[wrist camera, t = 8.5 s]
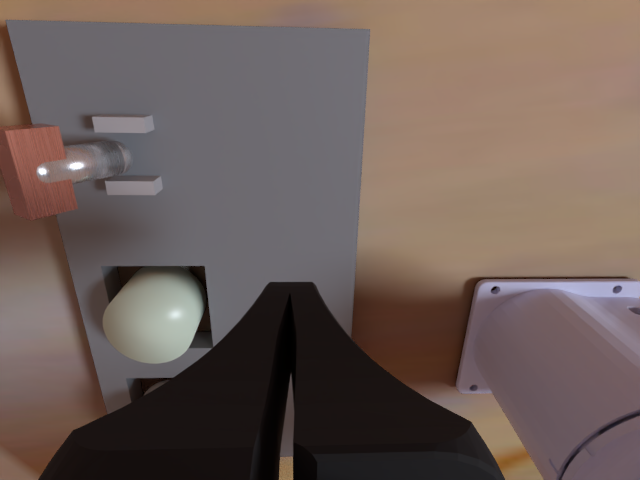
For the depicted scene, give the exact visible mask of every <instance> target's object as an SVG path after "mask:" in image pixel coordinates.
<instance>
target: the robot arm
mask: <svg viewBox="0 0 640 480" xmlns="http://www.w3.org/2000/svg"><path fill="white" fill-rule="evenodd" d="M494 286H497V287H496V289H495V290H492V291H491V289H492V288H493V287H494ZM614 287H616V288H615V289H613V288H614ZM639 296H640V282H639V281H638V280H636V279H484V280H481V281H479V282H478V283H477V284H476V286H475V291H474V296H473V301H472V306H471V311H470V316H469V321H468V326H467V331H466V336H465V341H464V346H463V351H462V356H461V361H460V366H459V371H458V376H457V381H456V387H457V390H458V391H459V392H460V393H463V394H472V393H493V395H494V397H495V398H496V400H497V402H498V403H499V405H500V407H501V408H502V410H503V412H504V413H505V415H506V417H507V418H508V420H509V422H510V423H511V425H512V427H513V428H514V430H515V432H516V433H517V435H518V437H519V438H520V440H521V442H522V444H523V445H524V447H525V449H526V450H527V452H528V454H529V455H530V457H531V459H532V460H533V462H534V464H535V465H536V467H537V469H538V470H539V472H540V474H541V475H542V477H543V479H544V480H640V299H639ZM290 376H291V377H292V390H293V402H294V432H293V480H505V478H504V476H503V474H502V472H501V470H500V468H499V466H498V464H497V462H496V461H495V459H494V457H493V455H492V454H491V452H490V450H489V449H488V447H487V445H486V444H485V442H484V441H483V439H482V438H481V436H480V435H479V433H478V432H477V430H476V429H475V427H474V425H473V424H472V422H470V421H469V420H467V419H465V418H463V417H461V416H459V415H457V414H455V413H453V412H451V411H449V410H447V409H445V408H443V407H442V406H440V405H438V404H436V403H434V402H432V401H430V400H429V399H427V398H425V397H424V396H422V395H420V394H419V393H417V392H416V391H414V390H412V389H411V388H409V387H408V386H406V385H405V384H403V383H402V382H400V381H399V380H398V379H396V378H395V377H393V376H392V375H391V374H390V373H388V372H387V371H386V370H384V369H383V368H382V367H381V366H379V365H378V364H377V363H376V362H374V361H373V360H372V359H371V358H370V357H369V356H368V355H367V354H366V353H365V352H364V351H363V350H362V349H361V348H360V347H359V346H358V345H357V344H356V343H355V342H354V341H353V340H352V339H351V337H350V336H349V335H348V334H347V333H346V332H345V330H344V329H343V328H342V327H341V325H340V324H339V323H338V321H337V320H336V319H335V317H334V316H333V314H332V313H331V312H330V310H329V309H328V307H327V305H326V304H325V302H324V300H323V299H322V297H321V295H320V293H319V291H318V289H317V286H316V285H315V284H314V283H313V282H269V283H268V284H267V285H266V286H265V288H264V290H263V291H262V293H261V294H260V295H259V297H258V298H257V300H256V301H255V302H254V304H253V305H252V306H251V307H250V309H249V310H248V311H247V312H246V314H245V315H244V316H243V317H242V318H241V320H240V321H239V322H238V323H237V324H236V325H235V326H234V327H233V328H232V329H231V330H230V331H229V332H228V333H227V334H226V336H225V337H224V338H223V339H222V340H220V341H219V342H218V343H217V344H216V345H215V346H214V347H213V348H212V349H211V350H210V351H208V352H207V353H206V354H205V355H204V356H203V357H201V358H200V359H199V360H198V361H196V362H195V363H193V364H192V365H190V366H189V367H188V368H186V369H185V370H183V371H182V372H181V373H179V374H178V375H176V376H175V377H173V378H172V379H171V380H169V381H167V382H166V383H164V384H163V385H161V386H159V387H158V388H156V389H154V390H153V391H151V392H149V393H148V394H146V395H144V396H142V397H140V398H139V399H137V400H135V401H133V402H131V403H130V404H128V405H126V406H124V407H122V408H120V409H118V410H116V411H114V412H112V413H110V414H107V415H105V416H103V417H101V418H99V419H97V420H95V421H93V422H91V423H89V424H87V425H84V426H82V427H80V428H78V429H75V430H73V431H72V432H71V434H70V435H69V436H68V438H67V439H66V440H65V442H64V443H63V444H62V446H61V447H60V448H59V450H58V451H57V452H56V454H55V455H54V456H53V458H52V459H51V461H50V462H49V464H48V465H47V467H46V469H45V470H44V472H43V473H42V475H41V476H40V478H39V479H38V480H279V462H280V451H281V441H282V434H283V427H284V420H285V412H286V405H287V398H288V391H289V383H290ZM472 385H473V386H472ZM470 386H471V387H470Z"/></svg>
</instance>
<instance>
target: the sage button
mask: <svg viewBox="0 0 640 480" xmlns="http://www.w3.org/2000/svg"><path fill="white" fill-rule="evenodd" d="M205 308H206V293H205V290H204V288H203V286H202V284H201V282H200V281H199V280H198V279H197V278H196V276H194V275H193V274H192V273H191V272H189V271H188V270H186V269H184V268H182V267H180V266H145V267H143V268H141V269H139V270H138V271H137V272H136V273H135V274H134V275H133V276H132V277H131V278H130V280H129V281H128V282H127V283H126V284H125V286H124V287H123V288H122V289H121V290H120V292H119V293H118V294H117V295H116V296H115V298H114V299H113V300H112V301H111V302H110V304H109V305H108V306H107V308H106V310H105V312H104V315H103V329H104V332H105V335H106V337H107V339H108V340H109V342H110V343H111V344H112V346H113V347H114V348H115V349H116V350H117V351H119V352H120V353H121V354H123V355H125V356H126V357H128V358H130V359H133V360H136V361H139V362H143V363H150V364H158V363H165V362H169V361H172V360H174V359H176V358H178V357H180V356H181V355H182V354H184V353H185V352H186V351H187V349H188V348H189V346H190V344H191V342H192V340H193V338H194V335H195V333H196V330H197V328H198V325H199V323H200V320H201V318H202V316H203V313H204V311H205Z"/></svg>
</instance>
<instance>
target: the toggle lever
mask: <svg viewBox="0 0 640 480" xmlns="http://www.w3.org/2000/svg"><path fill="white" fill-rule="evenodd" d="M132 163H133V156H132V153H131V151H130V149H129V148H128V147H127V146H126V145H125V144H123V143H121V142H119V141H114V140H109V141H101V142H93V143H86V144H78V145H70V146H63V142H62V138H61V134H60V129H59V126H55V125H49V124H42V123H39V124H27V125H15V126H2V127H0V168H1V171H2V174H3V178H4V181H5V184H6V188H7V191H8V194H9V198H10V201H11V204H12V208H13V211H14V214H16V215H18V216H21V217H23V218H25V219H28V220H30V221H31V220H35V219H39V218H43V217H47V216H51V215H55V214H59V213H63V212H67V211H71V210H75V209H78V206H77V202H76V198H75V194H74V189H73V185H72V184H77V183H82V182H87V181H92V180H97V179H102V178H106V177H111V176H116V175H121V174H124V173H125V172H127V171H128V170H129V169H130V168H131V166H132Z"/></svg>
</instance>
